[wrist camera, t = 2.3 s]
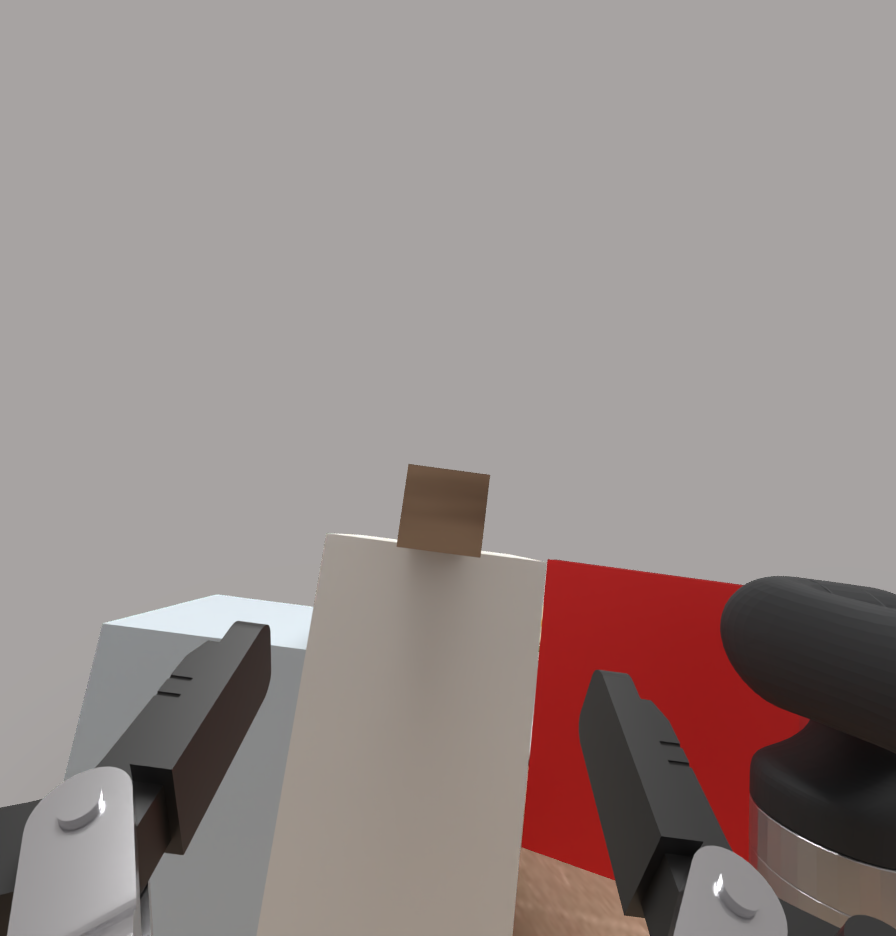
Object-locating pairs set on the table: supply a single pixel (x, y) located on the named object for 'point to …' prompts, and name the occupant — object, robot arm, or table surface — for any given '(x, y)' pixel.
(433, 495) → the handled cube
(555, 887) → the table surface
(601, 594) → the book
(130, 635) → the riser
